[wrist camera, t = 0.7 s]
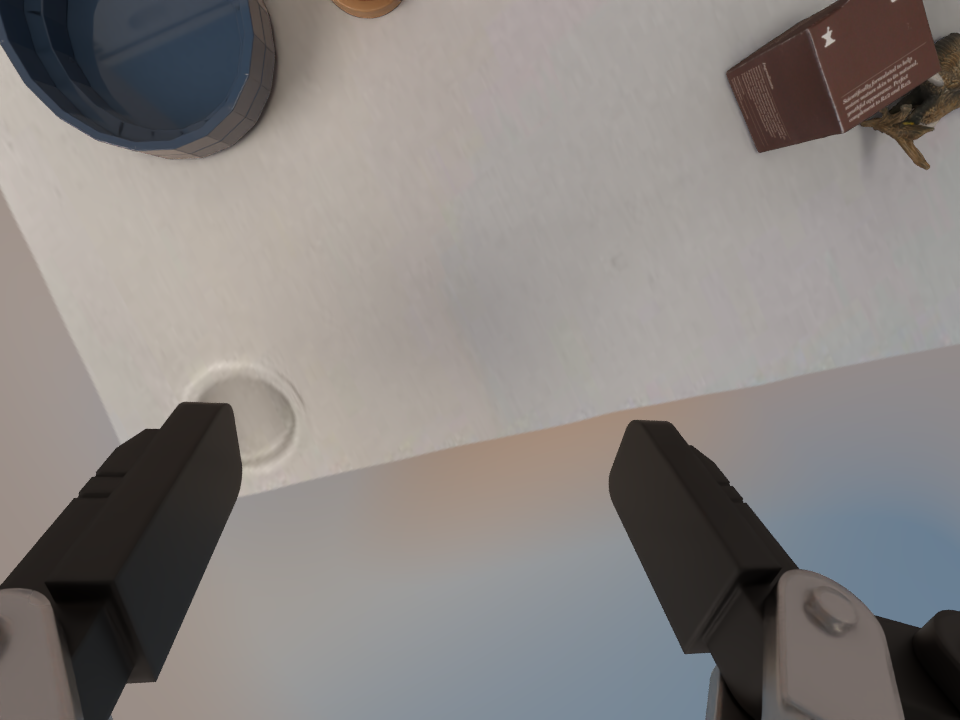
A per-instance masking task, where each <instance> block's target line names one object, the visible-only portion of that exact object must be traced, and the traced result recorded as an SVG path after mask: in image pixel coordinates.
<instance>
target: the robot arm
mask: <svg viewBox="0 0 960 720" xmlns="http://www.w3.org/2000/svg"><path fill="white" fill-rule="evenodd" d="M241 480H242V462H241V456H240V450H239V444H238V437H237V431H236V425H235V419H234V413H233V409H232V407H231V406H230V404H228V403H203V402H182V403H180V404H179V405H178V406H177V407H176V409H175V410H174V411H173V413H172V414H171V415H170V416H169V418H168V419H167V420H166V422H165V423H164V424H163V426H162V427H161V428H160V429H145V430H143V431H142V432H140V433H139V434H137V435H136V436H134V437H133V438H131V439H130V440H128V441H126V442H125V443H123V444H122V445H120V446H119V447H117V448H116V449H115V450H114V452H113V453H112V454H111V455H110V456H109V457H108V458H107V460H106V461H105V462H104V463H103V465H102V466H101V467H100V468H99V469H98V470H97V472H96V476H95V477H92V478H91V479H90V480H89V481H88V482H87V483H86V485H85V486H84V487H83V488H82V489H81V491H80V492H79V496H78V498H74V499H73V500H72V501H71V502H70V504H69V505H68V506H67V507H66V508H65V510H64V511H63V512H62V513H61V514H60V515H59V517H58V518H57V519H56V520H55V521H54V523H53V524H52V525H51V526H50V527H49V529H48V530H47V531H46V532H45V533H44V534H43V536H42V537H41V538H40V539H39V540H38V542H37V543H36V544H35V545H34V546H33V548H32V549H31V550H30V551H29V552H28V553H27V555H26V556H25V557H24V558H23V560H22V561H21V562H20V563H19V564H18V565H17V567H16V568H15V569H14V570H13V571H12V572H11V574H10V575H9V576H8V577H7V578H6V580H5V581H4V582H3V583H2V584H1V585H0V720H113V718H112V716H111V713H112V711H113V709H114V707H115V705H116V703H117V701H118V699H119V697H120V695H121V693H122V690H123V689H124V687H125V685H126V684H127V683H143V682H144V683H145V682H156V680H157V679H158V676H159V674H160V672H161V669H162V667H163V665H164V662H165V660H166V658H167V655H168V654H169V651H170V649H171V647H172V645H173V642H174V640H175V638H176V635H177V633H178V631H179V629H180V626H181V624H182V622H183V619H184V617H185V615H186V613H187V610H188V608H189V606H190V604H191V602H192V599H193V597H194V595H195V592H196V590H197V588H198V586H199V583H200V581H201V579H202V577H203V574H204V572H205V570H206V568H207V565H208V563H209V560H210V558H211V556H212V554H213V552H214V549H215V547H216V545H217V543H218V540H219V538H220V536H221V533H222V531H223V529H224V527H225V524H226V522H227V520H228V518H229V515H230V513H231V511H232V509H233V506H234V504H235V502H236V500H237V497H238V494H239V490H240V486H241ZM729 483H730V482H729V481H728V479H727V478H726V477H725V476H724V474H723V473H722V472H721V471H720V469H719V468H718V467H717V466H716V464H715V463H714V462H713V461H711V460H710V459H709V458H707V457H706V456H705V455H704V454H702V453H701V452H700V451H699V450H697V449H696V448H694V447H693V446H692V445H688V444H687V442H686V441H685V440H684V439H683V437H682V436H681V435H680V433H679V432H678V431H677V430H676V428H675V427H674V426H673V425H672V424H671V423H670V422H667V421H649V420H633V421H631V422H630V423H629V424H628V426H627V428H626V431H625V433H624V436H623V439H622V442H621V444H620V447H619V450H618V452H617V455H616V458H615V460H614V463H613V466H612V469H611V471H610V475H609V492H610V497H611V500H612V502H613V505H614V507H615V509H616V511H617V513H618V515H619V517H620V519H621V521H622V524H623V526H624V528H625V530H626V532H627V534H628V536H629V538H630V540H631V542H632V545H633V546H634V549H635V551H636V553H637V555H638V557H639V559H640V561H641V563H642V566H643V568H644V570H645V572H646V574H647V576H648V578H649V580H650V582H651V585H652V587H653V589H654V591H655V593H656V595H657V597H658V599H659V601H660V604H661V605H662V608H663V610H664V612H665V614H666V616H667V618H668V620H669V622H670V625H671V627H672V628H673V631H674V633H675V635H676V637H677V639H678V641H679V643H680V646H681V648H682V650H683V652H684V654H695V653H711V655H712V657H713V659H714V661H715V663H716V666H715V668H714V669H713V671H712V673H711V677H710V684H709V693H708V702H707V710H706V720H960V611H955V610H942V611H940V612H938V613H937V614H936V615H935V616H934V617H932V618H931V619H930V620H929V621H928V622H927V623H926V624H925V625H924V626H923V627H922V628H919V627H915V626H911V625H908V624H904V623H901V622H897V621H893V620H890V619H886V618H882V617H879V616H875V615H873V613H872V612H871V611H870V610H869V609H868V608H867V606H866V605H865V604H864V603H863V602H862V601H861V600H860V599H858V598H857V597H856V596H855V595H854V594H853V593H851V592H850V591H849V590H847V589H846V588H845V587H843V586H842V585H840V584H838V583H837V582H835V581H833V580H832V579H830V578H827V577H825V576H823V575H821V574H818V573H815V572H812V571H808V570H802V569H799V568H798V567H797V566H796V564H795V563H794V562H793V561H792V559H791V558H790V557H789V556H788V554H787V553H786V552H785V551H784V549H783V548H782V547H781V546H780V544H779V543H778V542H777V541H776V539H775V538H774V537H773V536H772V535H771V533H770V532H769V531H768V529H767V528H766V527H765V526H764V524H763V523H762V522H761V521H760V519H759V518H758V517H757V516H756V514H755V513H754V512H753V511H752V509H751V508H750V507H749V506H748V505H747V503H743V498H742V497H741V496H740V494H739V493H738V492H737V491H736V490H735V488H734V487H733V486H730V484H729Z"/></svg>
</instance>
